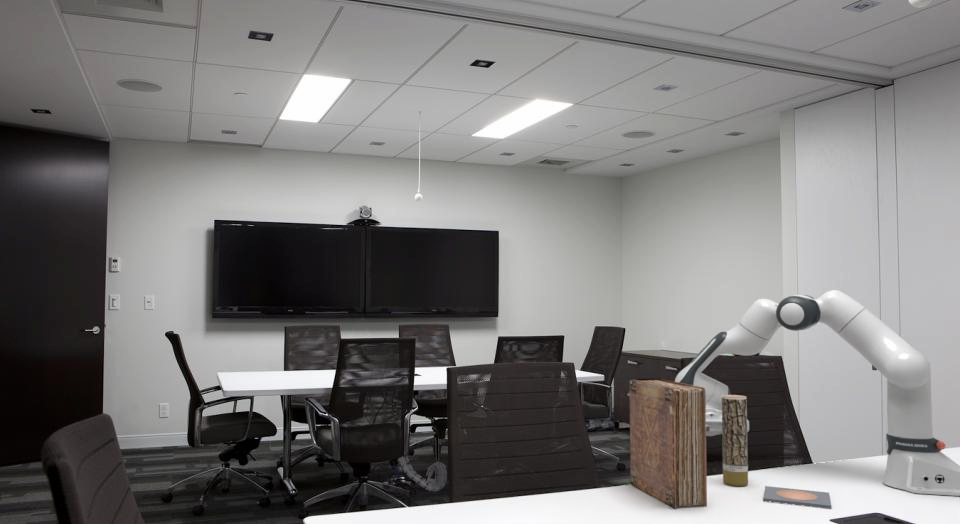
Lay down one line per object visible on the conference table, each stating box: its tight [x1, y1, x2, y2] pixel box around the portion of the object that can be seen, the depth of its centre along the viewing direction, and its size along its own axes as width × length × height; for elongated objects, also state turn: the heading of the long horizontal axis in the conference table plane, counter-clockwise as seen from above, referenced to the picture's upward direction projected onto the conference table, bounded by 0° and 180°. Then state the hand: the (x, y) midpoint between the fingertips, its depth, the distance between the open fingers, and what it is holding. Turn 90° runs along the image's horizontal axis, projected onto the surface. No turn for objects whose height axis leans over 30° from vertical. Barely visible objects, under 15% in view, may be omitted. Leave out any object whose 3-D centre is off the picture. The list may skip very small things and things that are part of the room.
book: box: [628, 377, 708, 510], centre depth 189 cm, size 25×9×30 cm, turn 13°
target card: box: [762, 485, 832, 510], centre depth 186 cm, size 16×14×1 cm
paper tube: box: [721, 394, 749, 487], centre depth 202 cm, size 7×7×25 cm
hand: (722, 428), depth 212 cm, fingers open, 8 cm apart
